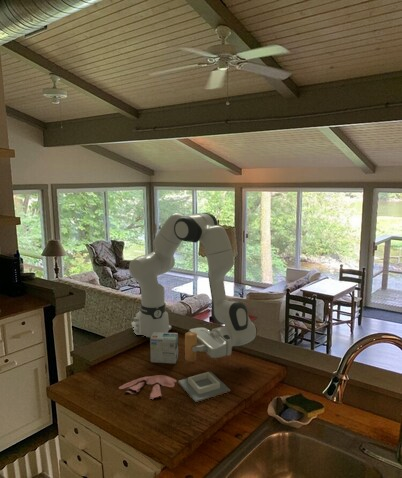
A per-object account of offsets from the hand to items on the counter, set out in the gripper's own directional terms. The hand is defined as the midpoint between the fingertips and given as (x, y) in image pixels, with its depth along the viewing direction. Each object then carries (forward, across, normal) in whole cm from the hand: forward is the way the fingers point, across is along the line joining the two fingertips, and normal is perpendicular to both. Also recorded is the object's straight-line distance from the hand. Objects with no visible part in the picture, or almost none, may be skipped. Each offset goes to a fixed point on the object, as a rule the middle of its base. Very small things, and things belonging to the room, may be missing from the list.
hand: (188, 345), depth 147 cm
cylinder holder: (-1, +12, +11) cm, 16 cm away
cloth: (+18, +3, +13) cm, 22 cm away
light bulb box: (+4, -14, +12) cm, 19 cm away
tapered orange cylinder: (-1, 0, +6) cm, 6 cm away
